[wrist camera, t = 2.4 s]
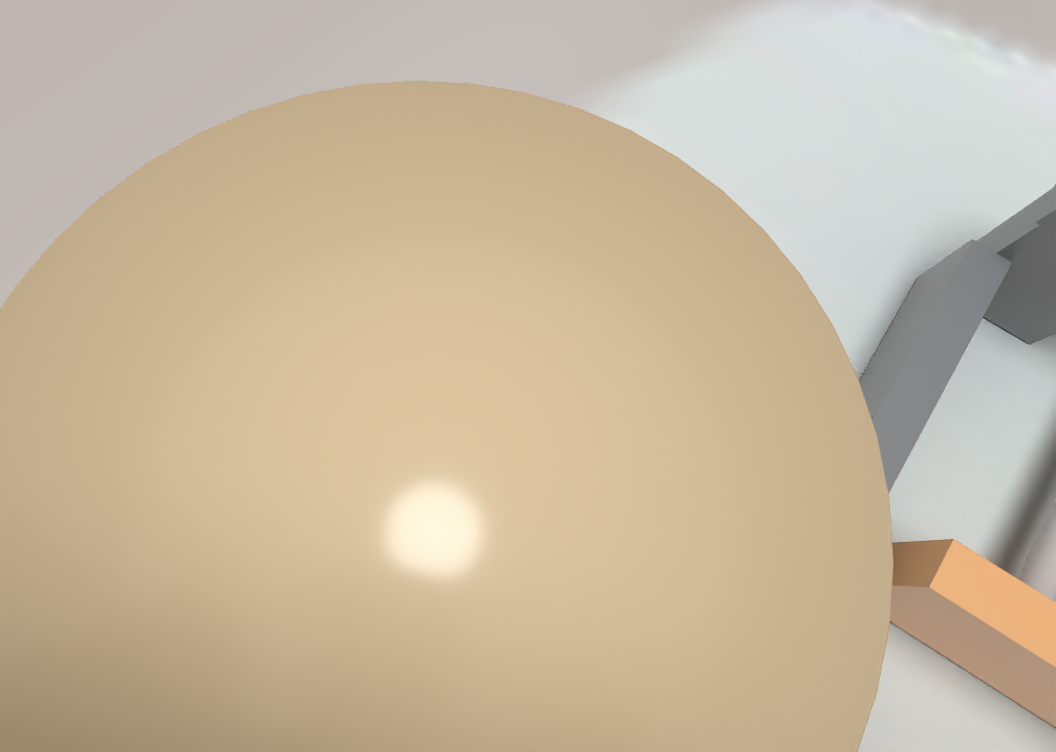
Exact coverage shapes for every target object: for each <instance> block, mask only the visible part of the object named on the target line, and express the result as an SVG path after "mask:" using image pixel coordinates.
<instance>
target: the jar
mask: <svg viewBox="0 0 1056 752" xmlns="http://www.w3.org/2000/svg"><path fill="white" fill-rule="evenodd" d="M892 576H893V549H892V534H891V519H890V504H889V495H888V490H887V485H886V479H885V474H884V469H883V464H882V459H881V454H880V449H879V444H878V438H877V435H876V432H875V429H874V426H873V423H872V419H871V416H870V413H869V410H868V407H867V404H866V401H865V398H864V395H863V392H862V389H861V386H860V383H859V380H858V377H857V375H856V373H855V371H854V369H853V367H852V365H851V363H850V361H849V358H848V356H847V354H846V352H845V350H844V348H843V346H842V344H841V342H840V339H839V337H838V335H837V333H836V331H835V329H834V327H833V325H832V323H831V321H830V320H829V318H828V317H827V315H826V314H825V312H824V310H823V309H822V307H821V306H820V304H819V303H818V301H817V299H816V298H815V296H814V295H813V293H812V292H811V290H810V288H809V287H808V285H807V284H806V282H805V281H804V279H803V277H802V276H801V274H800V273H799V272H798V271H797V270H796V268H795V267H794V266H793V265H792V263H791V262H790V261H789V260H788V259H787V257H786V256H785V255H784V254H783V252H782V251H781V250H780V249H779V248H778V246H777V245H776V244H775V243H774V242H773V240H772V239H771V238H770V237H769V235H768V234H767V233H766V232H765V231H764V230H763V229H762V228H761V227H760V226H759V225H758V224H757V223H756V222H755V221H754V220H753V219H752V218H751V217H750V216H749V215H748V214H747V213H746V212H744V211H743V210H742V209H741V208H740V207H739V206H738V205H737V204H736V203H735V202H734V201H733V200H732V199H731V198H730V197H729V196H728V195H727V194H726V193H725V192H723V191H722V190H721V189H720V188H718V187H717V186H716V185H714V184H713V183H712V182H710V181H709V180H707V179H706V178H705V177H703V176H702V175H701V174H699V173H698V172H697V171H695V170H694V169H693V168H691V167H690V166H689V165H687V164H686V163H685V162H683V161H682V160H681V159H679V158H678V157H676V156H674V155H673V154H671V153H669V152H667V151H666V150H664V149H662V148H660V147H659V146H657V145H655V144H653V143H652V142H650V141H648V140H646V139H645V138H643V137H641V136H639V135H638V134H636V133H634V132H632V131H631V130H629V129H626V128H624V127H622V126H619V125H617V124H615V123H612V122H610V121H608V120H605V119H603V118H600V117H598V116H596V115H593V114H591V113H589V112H586V111H584V110H582V109H579V108H576V107H573V106H569V105H566V104H562V103H559V102H555V101H552V100H549V99H545V98H542V97H538V96H535V95H531V94H527V93H523V92H518V91H511V90H506V89H500V88H494V87H488V86H482V85H476V84H468V83H467V84H466V83H448V82H427V81H407V82H391V83H376V84H362V85H361V84H360V85H355V86H349V87H344V88H338V89H333V90H328V91H322V92H316V93H311V94H305V95H302V96H298V97H295V98H292V99H289V100H285V101H282V102H279V103H275V104H272V105H269V106H266V107H262V108H259V109H256V110H252V111H249V112H247V113H245V114H242V115H240V116H238V117H236V118H233V119H231V120H229V121H226V122H224V123H222V124H219V125H217V126H215V127H212V128H210V129H208V130H206V131H203V132H201V133H198V134H197V135H195V136H193V137H191V138H190V139H188V140H186V141H184V142H183V143H181V144H180V145H177V146H176V147H174V148H172V149H170V150H169V151H167V152H165V153H164V154H162V155H160V156H158V157H157V158H155V159H153V160H151V161H150V162H148V163H146V164H145V165H144V166H142V167H141V168H140V169H138V170H137V171H135V172H134V173H133V174H132V175H130V176H129V177H127V178H126V179H125V180H124V181H122V182H121V183H119V184H118V185H117V186H115V187H114V188H113V189H111V190H110V191H108V192H107V193H106V194H104V195H103V196H102V197H100V198H99V199H98V200H97V201H96V202H95V203H94V204H93V205H92V206H90V207H89V208H88V209H87V210H86V211H85V212H84V213H83V214H82V215H81V216H80V217H79V218H78V219H77V220H76V221H74V222H73V223H72V224H71V225H70V226H69V227H68V228H67V229H66V230H65V231H64V232H63V233H62V234H61V235H59V236H58V237H57V238H56V239H55V240H54V242H53V243H52V244H51V245H50V246H49V247H48V249H47V250H46V251H45V252H44V253H43V254H42V256H41V257H40V258H39V259H38V260H37V262H36V263H35V264H34V265H33V266H32V267H31V269H30V270H29V271H28V272H27V273H26V275H25V276H24V277H23V278H22V279H21V280H20V282H19V283H18V284H17V285H16V287H15V288H14V289H13V291H12V292H11V294H10V296H9V297H8V298H7V300H6V302H5V303H4V305H3V306H2V308H1V309H0V752H857V751H858V748H859V745H860V742H861V739H862V736H863V733H864V730H865V727H866V724H867V721H868V718H869V715H870V712H871V709H872V706H873V703H874V700H875V697H876V694H877V689H878V684H879V679H880V674H881V668H882V663H883V658H884V653H885V648H886V642H887V637H888V632H889V625H890V609H891V593H892Z"/></svg>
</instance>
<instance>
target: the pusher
mask: <svg viewBox="0 0 1056 752" xmlns="http://www.w3.org/2000/svg"><path fill="white" fill-rule="evenodd" d="M892 549H893V576H892V593H891V609H890V622H892V623H893V624H895V625H896V626H898V627H900V628H901V629H903V630H904V631H906V632H907V633H909V634H910V635H912V636H914V637H915V638H917V639H918V640H920V641H921V642H923V643H924V644H926V645H928V646H929V647H931V648H932V649H934V650H935V651H937V652H939V653H940V654H942V655H943V656H945V657H946V658H948V659H949V660H951V661H953V662H954V663H956V664H957V665H959V666H960V667H962V668H963V669H965V670H967V671H968V672H970V673H971V674H973V675H974V676H976V677H978V678H979V679H981V680H982V681H984V682H985V683H987V684H988V685H990V686H992V687H993V688H995V689H996V690H998V691H999V692H1001V693H1002V694H1004V695H1006V696H1007V697H1009V698H1010V699H1012V700H1013V701H1015V702H1016V703H1018V704H1020V705H1021V706H1023V707H1024V708H1026V709H1027V710H1029V711H1031V712H1032V713H1034V714H1035V715H1037V716H1038V717H1040V718H1041V719H1043V720H1045V721H1046V722H1048V723H1049V724H1051V725H1052V726H1054V727H1055V728H1056V498H1055V500H1054V502H1053V505H1052V507H1051V509H1050V511H1049V513H1048V515H1047V517H1046V519H1045V521H1044V523H1043V525H1042V527H1041V529H1040V532H1039V534H1038V536H1037V538H1036V540H1035V542H1034V544H1033V546H1032V548H1031V550H1030V552H1029V554H1028V556H1027V559H1026V561H1025V563H1024V565H1023V567H1022V569H1021V571H1020V573H1019V575H1018V577H1017V578H1015V577H1014V576H1012V575H1011V574H1009V573H1007V572H1006V571H1004V570H1003V569H1001V568H999V567H998V566H996V565H995V564H993V563H991V562H990V561H988V560H986V559H985V558H983V557H982V556H980V555H978V554H977V553H975V552H974V551H972V550H970V549H969V548H967V547H966V546H964V545H962V544H961V543H959V542H958V541H956V540H954V539H948V540H931V541H915V542H899V543H892Z"/></svg>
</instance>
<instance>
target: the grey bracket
mask: <svg viewBox="0 0 1056 752" xmlns="http://www.w3.org/2000/svg"><path fill="white" fill-rule="evenodd" d="M983 317H984V318H985V319H987V320H989V321H991V322H992V323H994V324H996V325H997V326H999V327H1001V328H1003V329H1004V330H1006V331H1008V332H1009V333H1011V334H1013V335H1015V336H1016V337H1018V338H1020V339H1021V340H1023V341H1025V342H1026V343H1028V344H1032V343H1034V342H1036V341H1039V340H1041V339H1043V338H1046V337H1048V336H1050V335H1053V334H1055V333H1056V185H1055V186H1054V188H1052V189H1051V190H1050V191H1048V192H1047V193H1045V194H1044V195H1042V196H1041V197H1040V198H1038V199H1037V200H1035V201H1034V202H1032V203H1031V204H1029V205H1028V206H1027V207H1025V208H1024V209H1022V210H1021V211H1019V212H1018V213H1017V214H1015V215H1014V216H1012V217H1011V218H1009V219H1008V220H1006V221H1005V222H1004V223H1002V224H1001V225H999V226H998V227H996V228H995V229H994V230H992V231H991V232H989V233H988V234H986V235H985V236H984V237H982V238H981V239H979V240H978V241H974V240H973V239H972V240H971V241H969V242H968V243H966V244H965V245H964V246H962V247H961V248H959V249H958V250H957V251H955V252H954V253H952V254H951V255H949V256H948V257H947V258H945V259H944V260H942V261H941V262H940V263H938V264H937V265H935V266H934V267H933V268H931V269H930V270H928V271H927V272H925V273H924V274H923V275H921V276H920V277H918V278H917V279H916V281H915V283H914V285H913V286H912V288H911V290H910V292H909V294H908V295H907V297H906V299H905V301H904V302H903V304H902V306H901V308H900V310H899V311H898V313H897V315H896V317H895V318H894V320H893V322H892V324H891V325H890V327H889V329H888V331H887V333H886V334H885V336H884V338H883V340H882V341H881V343H880V345H879V347H878V349H877V350H876V352H875V354H874V356H873V357H872V359H871V361H870V363H869V364H868V366H867V368H866V370H865V372H864V373H863V375H862V377H861V379H860V380H859V383H860V386H861V389H862V392H863V395H864V398H865V401H866V404H867V407H868V410H869V413H870V416H871V419H872V423H873V426H874V429H875V432H876V435H877V438H878V444H879V449H880V454H881V459H882V464H883V469H884V474H885V479H886V485H887V490H888V494H889V492H890V490H891V488H892V486H893V484H894V482H895V480H896V479H897V477H898V475H899V473H900V471H901V469H902V467H903V465H904V464H905V462H906V460H907V458H908V456H909V454H910V452H911V451H912V449H913V447H914V445H915V443H916V441H917V439H918V437H919V436H920V434H921V432H922V430H923V428H924V426H925V424H926V422H927V421H928V419H929V417H930V415H931V413H932V411H933V409H934V408H935V406H936V404H937V402H938V400H939V398H940V396H941V394H942V393H943V391H944V389H945V387H946V385H947V383H948V381H949V379H950V378H951V376H952V374H953V372H954V370H955V368H956V366H957V365H958V363H959V361H960V359H961V357H962V355H963V353H964V351H965V350H966V348H967V346H968V344H969V342H970V340H971V338H972V336H973V335H974V333H975V331H976V329H977V327H978V325H979V323H980V322H981V320H982V318H983Z"/></svg>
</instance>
